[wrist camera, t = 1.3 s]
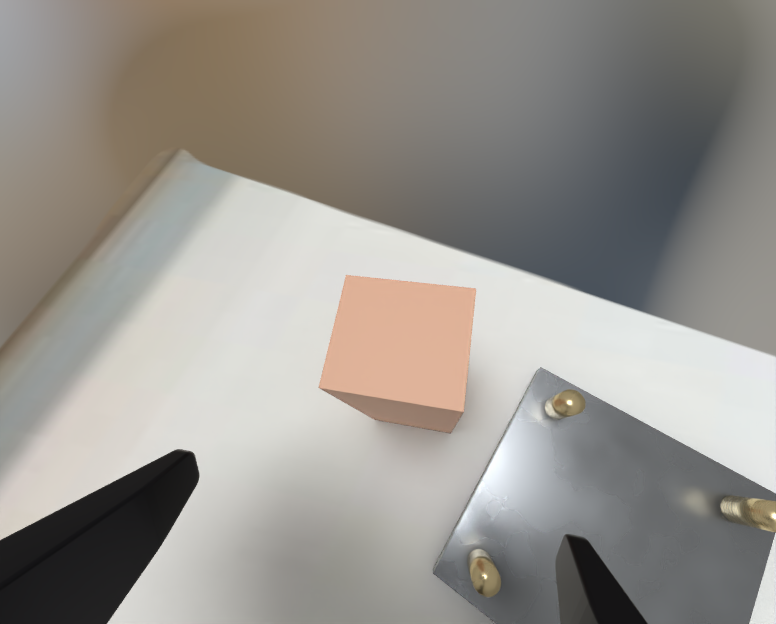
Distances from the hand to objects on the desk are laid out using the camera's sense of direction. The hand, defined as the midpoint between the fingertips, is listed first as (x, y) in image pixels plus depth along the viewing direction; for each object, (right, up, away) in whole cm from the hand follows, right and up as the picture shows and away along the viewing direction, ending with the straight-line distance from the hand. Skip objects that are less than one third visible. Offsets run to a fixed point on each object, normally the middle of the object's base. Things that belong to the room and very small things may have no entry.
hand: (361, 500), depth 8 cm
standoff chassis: (+11, -7, +9) cm, 16 cm away
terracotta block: (+2, 0, +13) cm, 13 cm away
